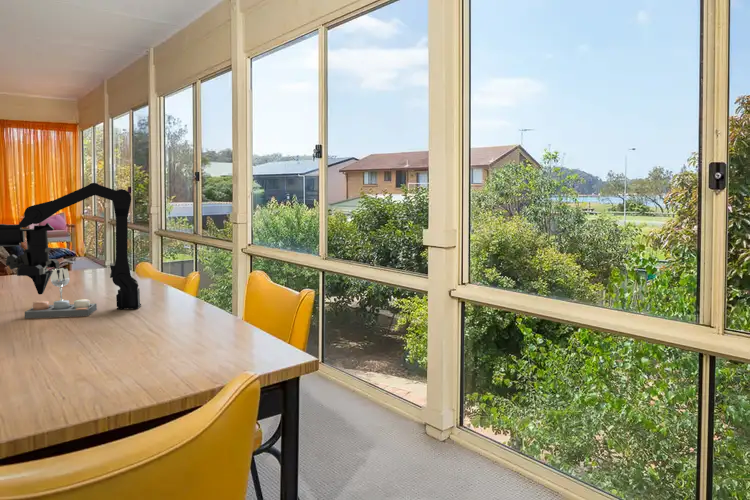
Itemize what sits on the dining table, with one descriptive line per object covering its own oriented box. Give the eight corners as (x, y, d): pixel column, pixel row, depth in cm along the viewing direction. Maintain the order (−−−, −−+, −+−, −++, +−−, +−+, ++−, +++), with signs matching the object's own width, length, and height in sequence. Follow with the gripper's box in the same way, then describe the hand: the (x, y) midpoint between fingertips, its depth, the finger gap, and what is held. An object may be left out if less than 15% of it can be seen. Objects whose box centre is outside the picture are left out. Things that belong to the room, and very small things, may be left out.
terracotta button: (51, 308, 183) (50, 300, 182) (46, 311, 178) (45, 303, 178) (36, 309, 182) (35, 301, 181) (30, 311, 177) (30, 303, 177)
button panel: (96, 309, 188) (96, 302, 188) (87, 316, 178) (87, 308, 178) (37, 311, 184) (36, 304, 184) (24, 318, 175) (24, 311, 174)
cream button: (91, 307, 185) (91, 299, 185) (87, 309, 181) (87, 301, 180) (76, 307, 184) (76, 299, 184) (72, 310, 180) (72, 302, 180)
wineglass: (56, 305, 195) (54, 270, 193) (49, 303, 198) (47, 269, 197) (73, 302, 199) (72, 268, 198) (66, 300, 203) (64, 267, 201)
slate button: (71, 307, 184) (71, 299, 183) (67, 310, 179) (66, 302, 179) (56, 308, 183) (56, 300, 183) (51, 311, 179) (51, 303, 178)
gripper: (21, 242, 185) (24, 289, 187) (-5, 248, 167) (-1, 300, 169) (58, 242, 187) (61, 288, 189) (37, 248, 169) (40, 299, 171)
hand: (40, 294), depth 179 cm, fingers closed
